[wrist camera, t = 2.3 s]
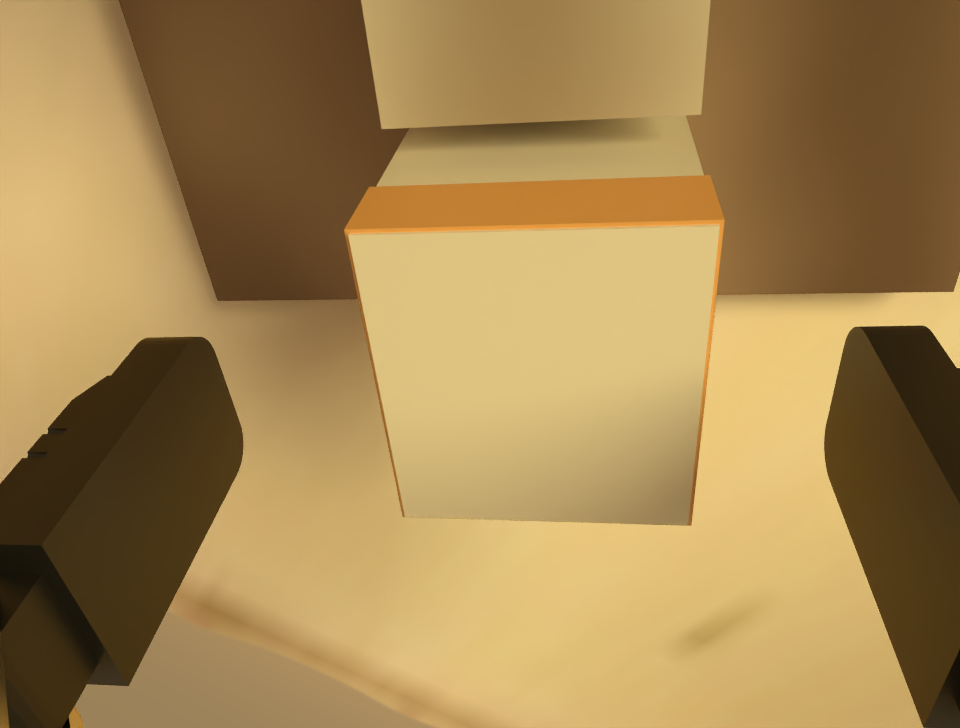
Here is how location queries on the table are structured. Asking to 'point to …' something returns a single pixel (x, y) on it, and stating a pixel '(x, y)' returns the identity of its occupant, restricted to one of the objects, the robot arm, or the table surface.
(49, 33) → the table surface
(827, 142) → the ticket board
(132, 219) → the table surface
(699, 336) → the orange-striped cream block
